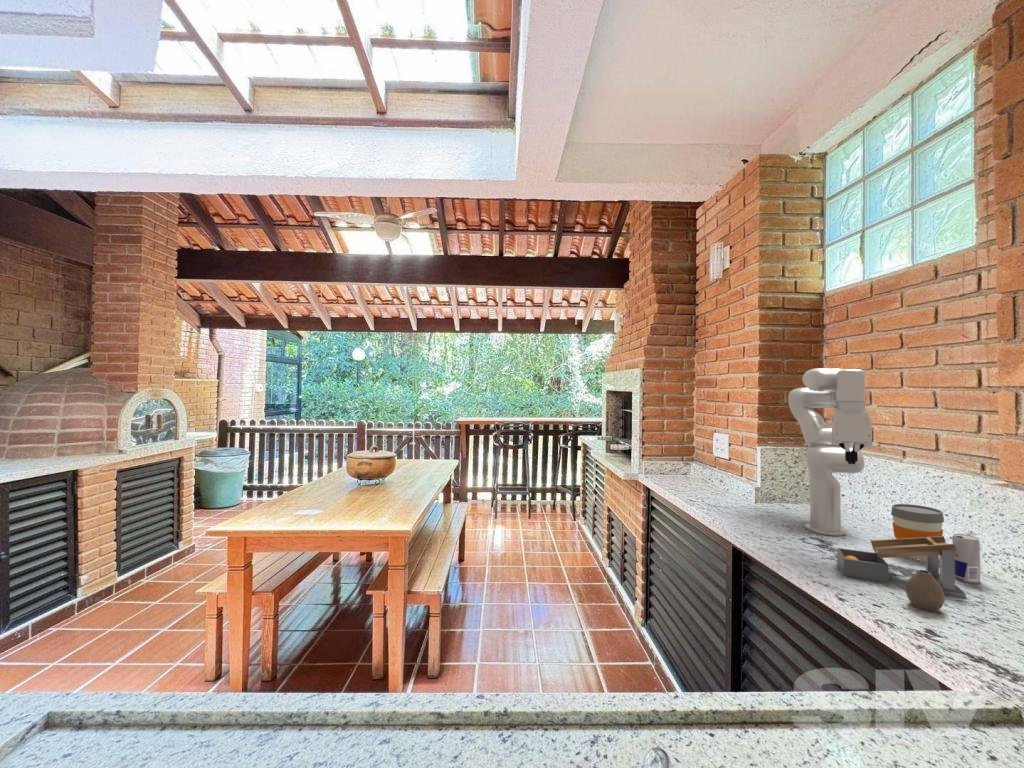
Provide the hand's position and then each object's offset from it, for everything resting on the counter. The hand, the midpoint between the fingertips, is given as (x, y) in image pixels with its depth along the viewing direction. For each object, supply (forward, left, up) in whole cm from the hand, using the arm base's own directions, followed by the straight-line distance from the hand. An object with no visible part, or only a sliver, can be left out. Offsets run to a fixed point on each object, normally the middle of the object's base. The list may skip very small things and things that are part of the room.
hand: (851, 463), depth 145 cm
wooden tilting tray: (+15, +11, -21) cm, 28 cm away
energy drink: (+10, +24, -29) cm, 39 cm away
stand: (+18, +16, -29) cm, 38 cm away
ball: (+18, -3, -26) cm, 32 cm away
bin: (+18, -1, -29) cm, 34 cm away
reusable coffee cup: (-7, +18, -29) cm, 35 cm away
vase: (+36, +8, -29) cm, 47 cm away
